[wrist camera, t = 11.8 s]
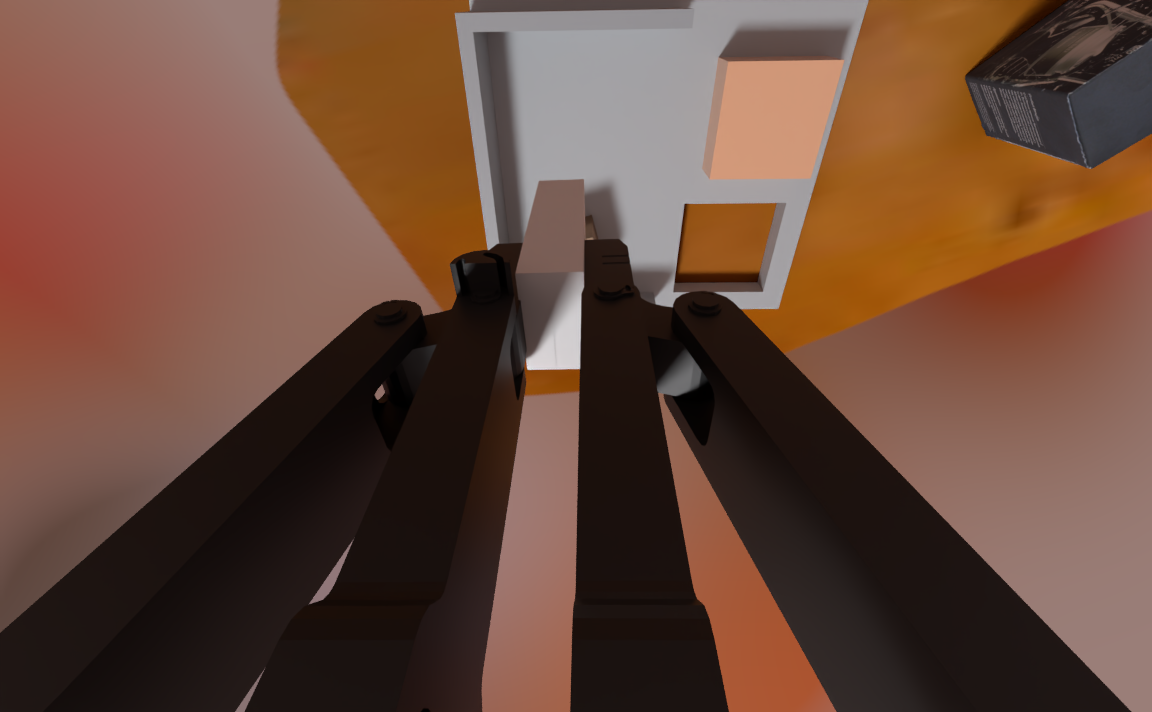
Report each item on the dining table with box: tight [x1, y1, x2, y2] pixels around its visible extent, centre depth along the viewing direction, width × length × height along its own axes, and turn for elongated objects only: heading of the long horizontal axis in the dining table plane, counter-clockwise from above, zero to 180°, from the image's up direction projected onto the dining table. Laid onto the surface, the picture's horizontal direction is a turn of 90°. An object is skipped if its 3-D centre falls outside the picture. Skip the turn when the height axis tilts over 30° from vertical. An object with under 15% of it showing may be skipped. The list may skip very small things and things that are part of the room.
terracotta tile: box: [702, 56, 845, 180], centre depth 36 cm, size 8×8×3 cm
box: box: [965, 0, 1152, 169], centre depth 32 cm, size 11×7×10 cm, turn 134°
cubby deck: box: [455, 0, 868, 309], centre depth 39 cm, size 26×28×7 cm
